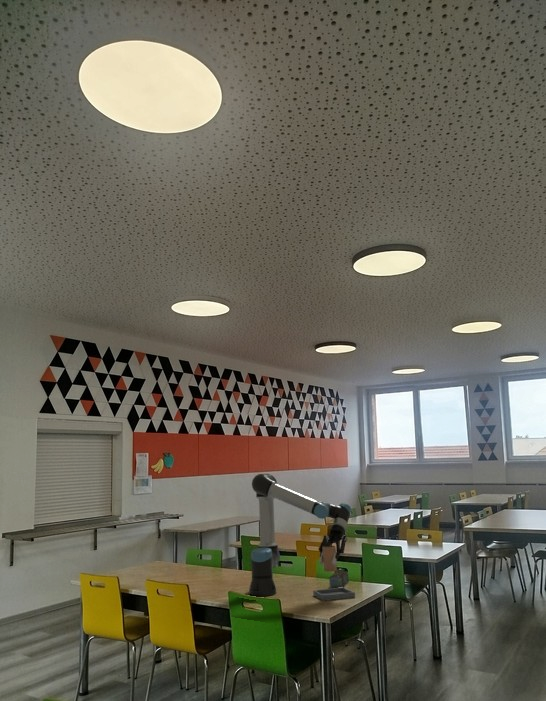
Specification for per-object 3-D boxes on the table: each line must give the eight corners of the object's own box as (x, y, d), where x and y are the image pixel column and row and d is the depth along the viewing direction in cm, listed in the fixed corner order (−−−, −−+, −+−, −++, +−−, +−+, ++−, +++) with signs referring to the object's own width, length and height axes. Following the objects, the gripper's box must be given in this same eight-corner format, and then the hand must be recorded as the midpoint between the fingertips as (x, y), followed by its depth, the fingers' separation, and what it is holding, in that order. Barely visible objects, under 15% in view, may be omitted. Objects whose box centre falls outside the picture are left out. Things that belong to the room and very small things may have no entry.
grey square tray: (313, 595, 299) (313, 590, 300) (343, 592, 304) (343, 587, 305) (323, 600, 286) (323, 595, 286) (355, 597, 291) (354, 592, 291)
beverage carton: (329, 588, 318) (328, 575, 320) (335, 582, 336) (335, 570, 338) (343, 588, 316) (342, 576, 317) (349, 582, 334) (348, 570, 335)
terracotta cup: (321, 570, 300) (320, 546, 302) (334, 568, 302) (332, 545, 304) (326, 571, 293) (325, 547, 296) (339, 570, 295) (337, 546, 298)
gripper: (357, 532, 309) (346, 568, 292) (325, 532, 319) (313, 567, 302) (352, 523, 305) (341, 559, 289) (320, 523, 316) (307, 558, 299)
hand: (326, 563), depth 295 cm, fingers closed on terracotta cup, 7 cm apart
